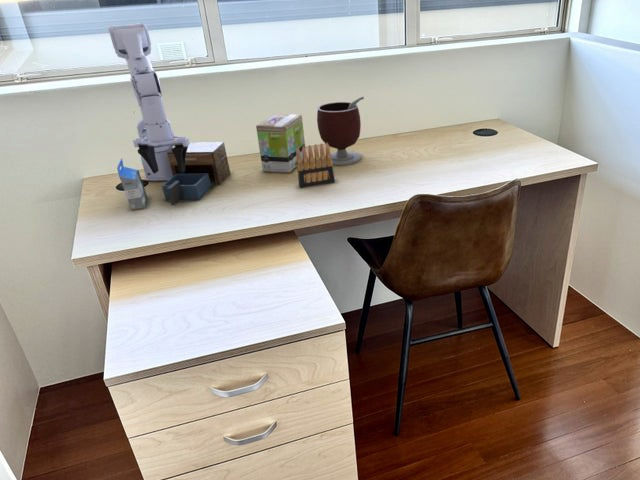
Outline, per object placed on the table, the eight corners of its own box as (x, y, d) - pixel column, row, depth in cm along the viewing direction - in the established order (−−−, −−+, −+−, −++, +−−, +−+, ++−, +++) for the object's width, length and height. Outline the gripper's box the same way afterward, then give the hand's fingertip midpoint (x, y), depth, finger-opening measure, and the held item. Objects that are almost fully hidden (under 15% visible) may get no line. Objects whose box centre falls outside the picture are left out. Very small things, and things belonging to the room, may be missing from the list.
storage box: (156, 208, 156) (150, 188, 152) (179, 187, 169) (174, 168, 166) (191, 208, 155) (186, 188, 152) (211, 187, 168) (207, 168, 165)
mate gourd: (318, 166, 181) (310, 102, 170) (325, 152, 193) (318, 92, 182) (365, 165, 180) (361, 101, 169) (369, 152, 192) (365, 91, 181)
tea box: (291, 173, 176) (284, 126, 169) (262, 172, 178) (254, 125, 170) (307, 157, 189) (302, 113, 181) (279, 157, 191) (273, 112, 183)
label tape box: (145, 208, 156) (132, 165, 150) (129, 210, 155) (116, 167, 149) (147, 197, 163) (135, 156, 157) (133, 199, 162) (120, 157, 156)
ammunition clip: (333, 180, 170) (329, 141, 163) (335, 182, 168) (331, 142, 162) (298, 186, 167) (293, 146, 160) (300, 188, 165) (294, 148, 159)
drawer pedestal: (218, 187, 168) (210, 153, 163) (173, 187, 169) (164, 154, 164) (230, 173, 178) (223, 141, 173) (188, 174, 179) (180, 142, 174)
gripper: (122, 126, 144) (137, 177, 151) (176, 125, 143) (189, 176, 150) (134, 119, 150) (148, 168, 157) (187, 118, 149) (198, 167, 156)
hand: (169, 172), depth 154 cm, fingers open, 7 cm apart
